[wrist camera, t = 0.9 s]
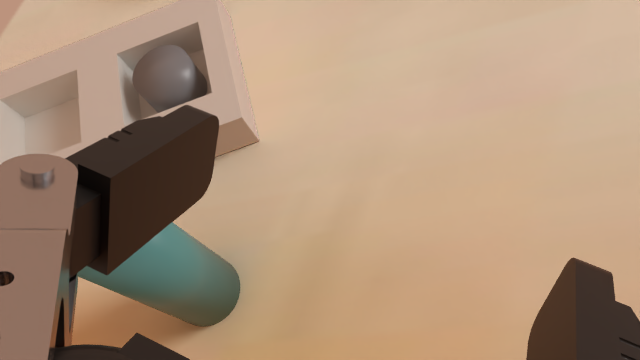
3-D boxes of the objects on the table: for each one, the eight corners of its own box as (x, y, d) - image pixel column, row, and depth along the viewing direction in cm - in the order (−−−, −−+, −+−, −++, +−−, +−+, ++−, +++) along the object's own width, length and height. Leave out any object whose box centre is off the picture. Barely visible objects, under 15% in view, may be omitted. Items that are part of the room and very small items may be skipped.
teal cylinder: (233, 248, 34) (133, 170, 24) (245, 314, 32) (143, 257, 22) (171, 269, 34) (50, 200, 25) (180, 335, 33) (52, 288, 23)
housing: (230, 16, 42) (211, -16, 39) (259, 140, 37) (240, 115, 34) (12, 101, 44) (-21, 77, 41) (11, 230, 39) (-26, 214, 36)
